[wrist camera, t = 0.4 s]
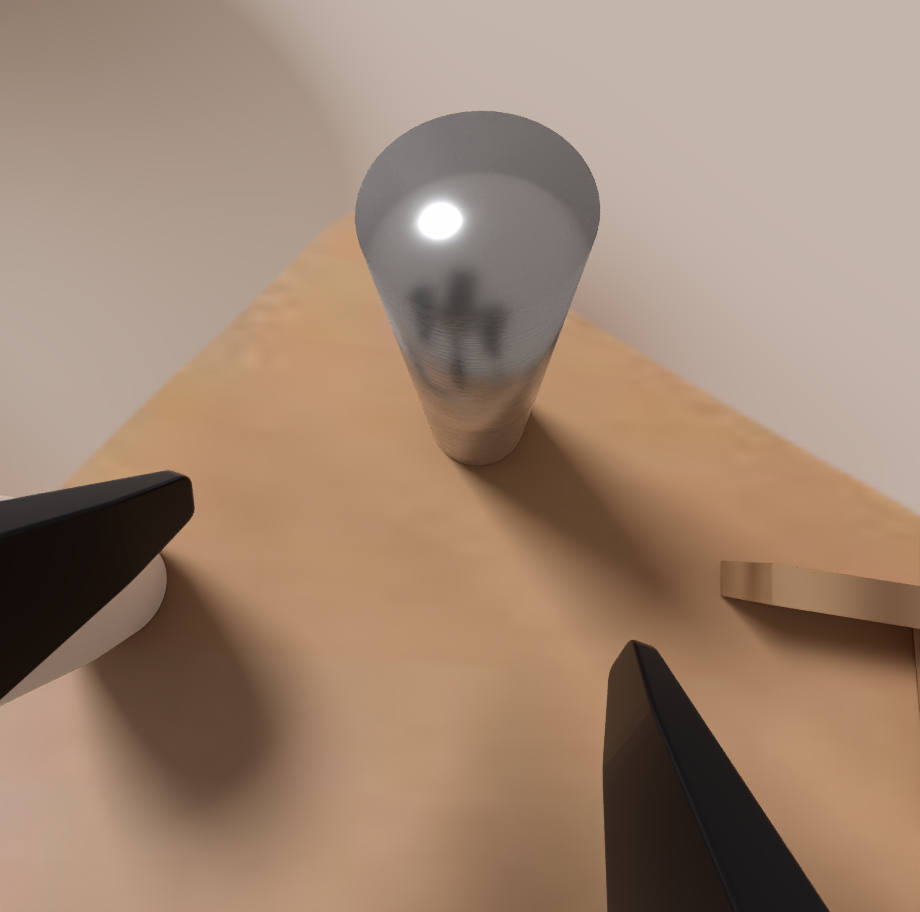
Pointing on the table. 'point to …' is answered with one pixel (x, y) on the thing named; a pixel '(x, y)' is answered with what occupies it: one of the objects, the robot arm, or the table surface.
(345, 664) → the table surface
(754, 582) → the v cradle
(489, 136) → the grey metallic tall cylinder
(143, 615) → the cup
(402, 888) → the table surface
